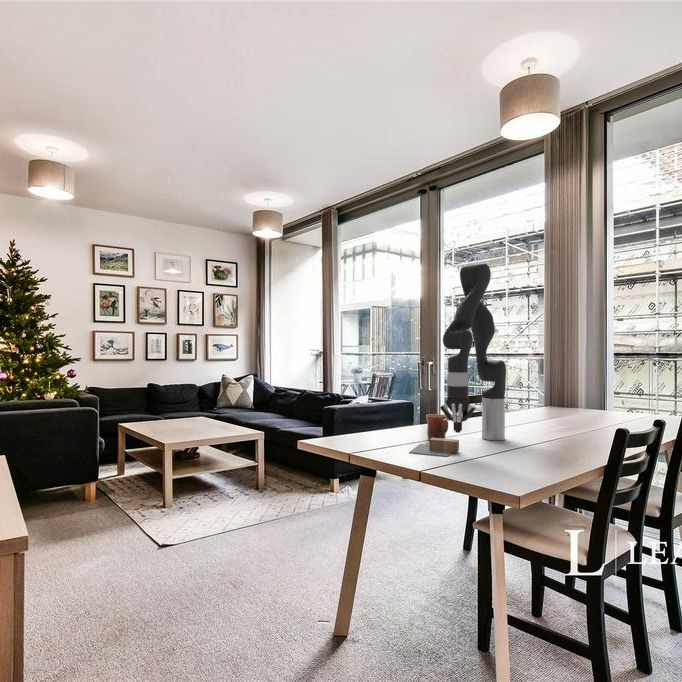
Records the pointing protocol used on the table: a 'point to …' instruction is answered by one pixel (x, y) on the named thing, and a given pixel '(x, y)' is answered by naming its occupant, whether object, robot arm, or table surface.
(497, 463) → the table surface
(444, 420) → the mug
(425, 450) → the mat
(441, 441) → the walnut block
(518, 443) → the table surface
